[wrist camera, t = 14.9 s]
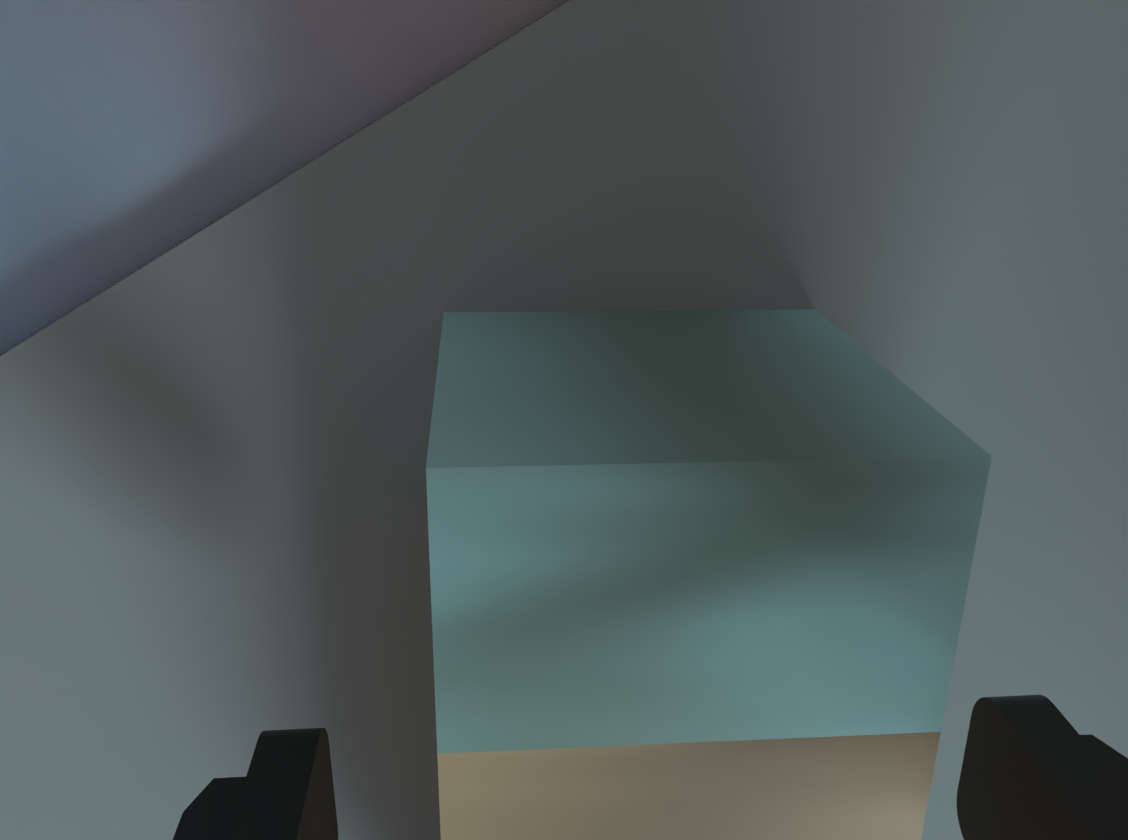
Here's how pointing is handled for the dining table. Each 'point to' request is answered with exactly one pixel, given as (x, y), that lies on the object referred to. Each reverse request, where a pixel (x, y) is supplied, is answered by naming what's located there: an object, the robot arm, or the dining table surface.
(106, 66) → the dining table surface
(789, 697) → the brown and blue block
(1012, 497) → the rubber mat
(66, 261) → the dining table surface
